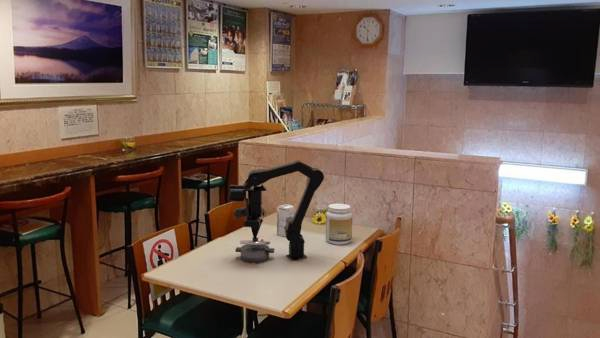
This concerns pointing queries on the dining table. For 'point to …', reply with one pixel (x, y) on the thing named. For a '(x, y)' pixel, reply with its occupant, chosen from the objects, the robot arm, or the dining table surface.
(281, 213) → the syrup box
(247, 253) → the cooker pot
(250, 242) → the cooker lid
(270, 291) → the dining table surface
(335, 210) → the supplement tub
